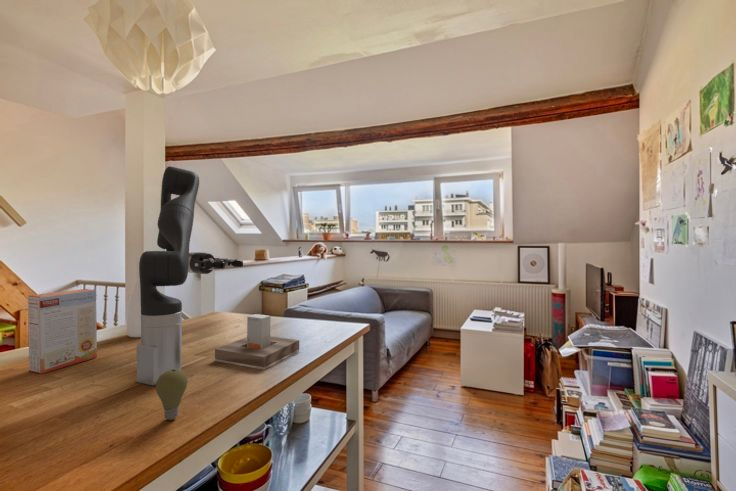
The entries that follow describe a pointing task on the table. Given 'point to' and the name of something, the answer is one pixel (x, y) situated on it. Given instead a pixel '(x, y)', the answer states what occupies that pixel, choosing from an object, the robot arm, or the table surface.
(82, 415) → the table surface
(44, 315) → the cracker box
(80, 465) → the table surface
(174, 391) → the light bulb
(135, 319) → the wine bottle
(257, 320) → the skincare box
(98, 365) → the table surface
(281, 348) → the walnut stand
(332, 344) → the table surface
